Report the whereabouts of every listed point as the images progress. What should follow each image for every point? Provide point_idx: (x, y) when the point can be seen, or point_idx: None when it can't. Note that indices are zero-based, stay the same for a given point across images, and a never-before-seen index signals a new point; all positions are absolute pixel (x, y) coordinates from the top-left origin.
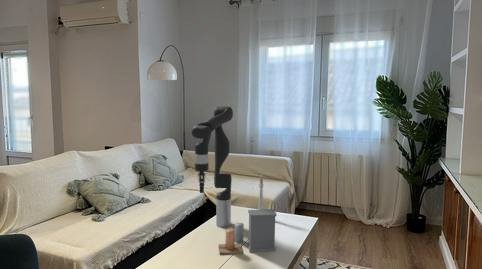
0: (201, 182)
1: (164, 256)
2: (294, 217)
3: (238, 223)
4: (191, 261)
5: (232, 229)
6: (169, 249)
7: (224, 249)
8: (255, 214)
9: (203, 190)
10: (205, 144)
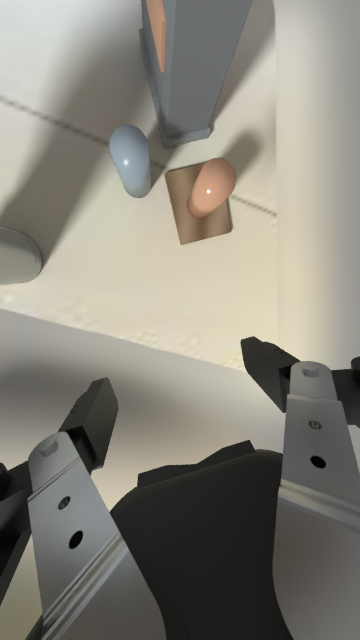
0: (95, 444)
1: None
2: None
3: (120, 153)
4: (264, 296)
5: (209, 170)
6: (213, 360)
7: (211, 220)
8: None
9: (264, 345)
10: None
